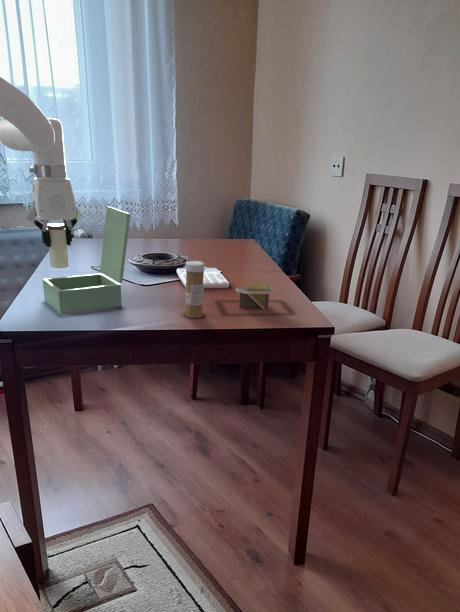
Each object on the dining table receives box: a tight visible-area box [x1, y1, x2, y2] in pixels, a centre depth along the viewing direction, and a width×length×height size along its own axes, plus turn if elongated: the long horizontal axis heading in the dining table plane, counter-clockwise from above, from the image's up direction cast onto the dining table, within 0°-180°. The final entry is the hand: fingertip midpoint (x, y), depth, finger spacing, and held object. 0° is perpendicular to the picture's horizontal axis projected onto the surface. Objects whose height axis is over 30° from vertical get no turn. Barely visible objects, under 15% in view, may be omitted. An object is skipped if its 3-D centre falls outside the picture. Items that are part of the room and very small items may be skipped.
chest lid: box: [99, 205, 131, 284], centre depth 140 cm, size 17×13×1 cm
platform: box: [235, 282, 274, 310], centre depth 147 cm, size 12×18×7 cm, turn 100°
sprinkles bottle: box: [184, 260, 205, 319], centre depth 137 cm, size 5×5×14 cm
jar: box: [47, 222, 70, 269], centre depth 149 cm, size 5×5×11 cm
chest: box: [42, 272, 123, 315], centre depth 141 cm, size 16×13×6 cm
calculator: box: [176, 267, 230, 289], centre depth 171 cm, size 13×20×2 cm, turn 13°
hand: (57, 244), depth 149 cm, fingers closed on jar, 4 cm apart
